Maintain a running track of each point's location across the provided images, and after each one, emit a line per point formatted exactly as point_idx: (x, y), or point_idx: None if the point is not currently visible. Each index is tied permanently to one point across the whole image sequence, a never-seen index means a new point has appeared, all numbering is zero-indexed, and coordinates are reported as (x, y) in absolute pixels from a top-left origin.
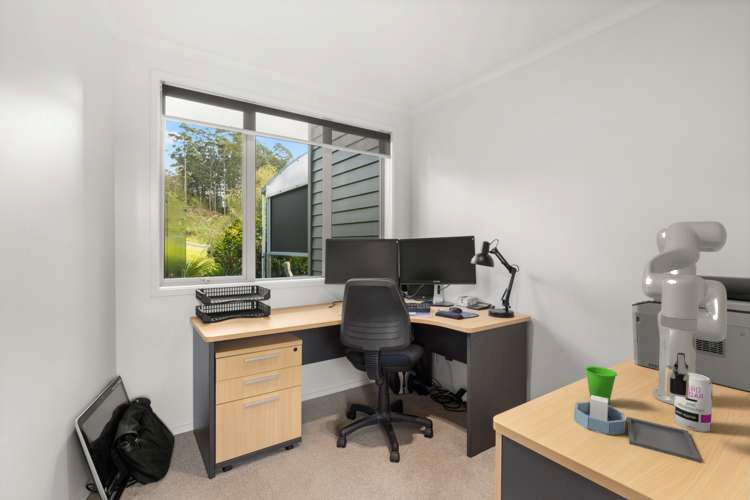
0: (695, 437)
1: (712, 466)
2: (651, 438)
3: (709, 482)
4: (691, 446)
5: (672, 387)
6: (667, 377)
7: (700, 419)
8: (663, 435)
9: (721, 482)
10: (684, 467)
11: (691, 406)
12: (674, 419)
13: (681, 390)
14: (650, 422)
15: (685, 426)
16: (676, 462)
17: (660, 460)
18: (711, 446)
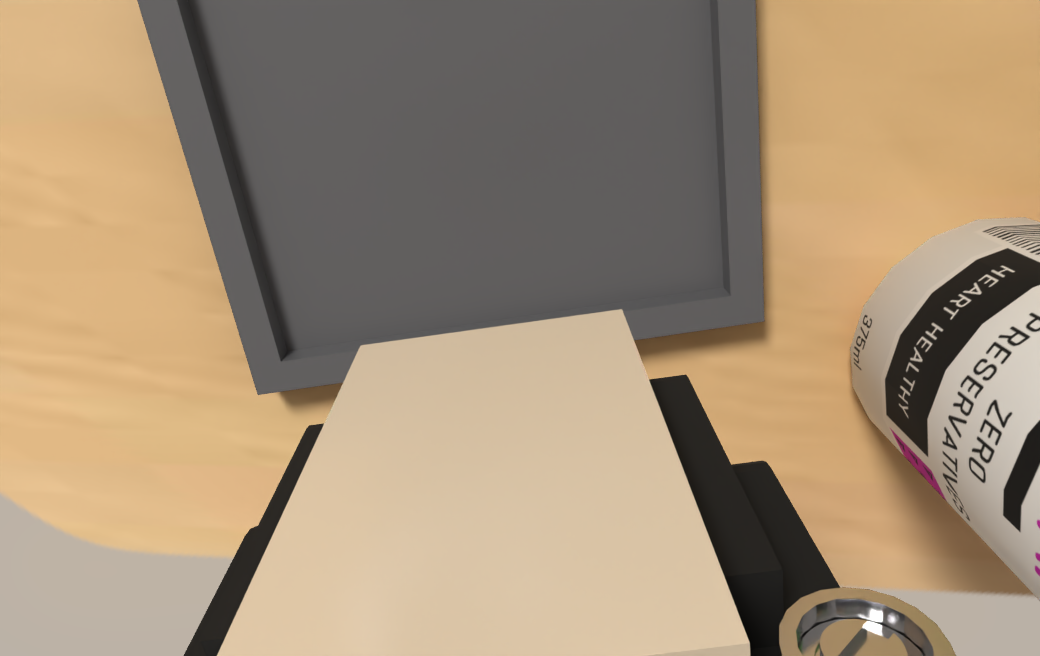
0: (742, 355)
1: None
2: (417, 69)
3: (43, 419)
4: None
5: None
6: (266, 564)
7: (903, 442)
8: (566, 155)
9: (112, 470)
10: (119, 298)
11: (970, 438)
12: (972, 228)
13: None
14: (745, 40)
15: (868, 305)
16: (151, 252)
17: (74, 154)
18: None
